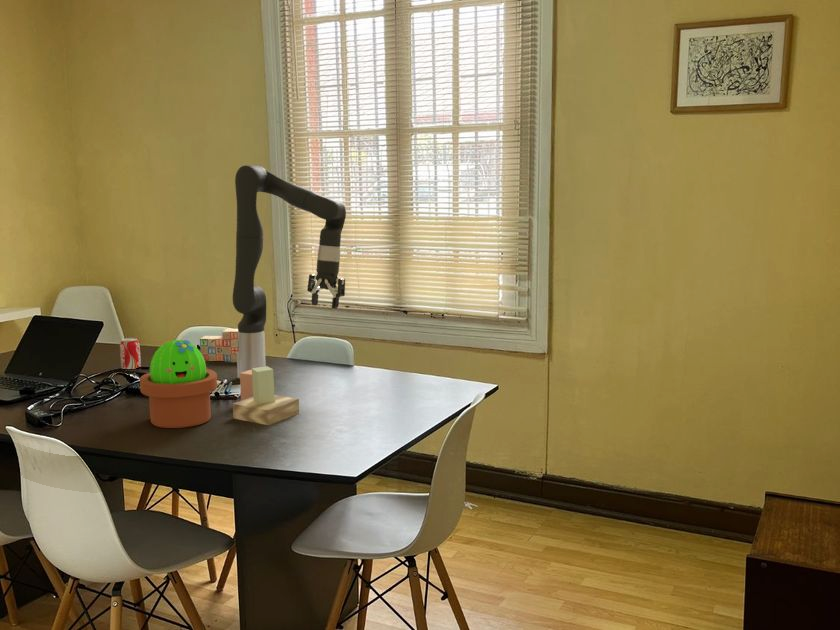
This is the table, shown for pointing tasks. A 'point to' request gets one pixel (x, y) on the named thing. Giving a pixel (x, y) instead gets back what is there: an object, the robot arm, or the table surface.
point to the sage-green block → (263, 385)
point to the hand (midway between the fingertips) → (324, 306)
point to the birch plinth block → (266, 410)
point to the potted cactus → (178, 386)
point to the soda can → (130, 353)
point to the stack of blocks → (220, 346)
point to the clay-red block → (246, 385)
